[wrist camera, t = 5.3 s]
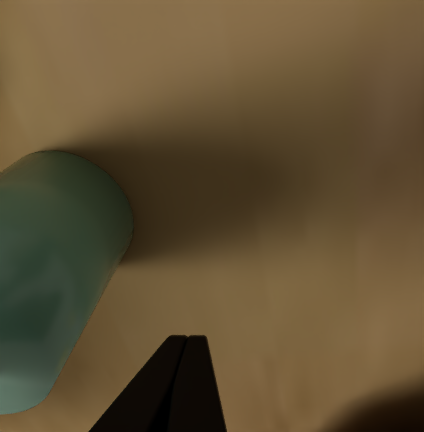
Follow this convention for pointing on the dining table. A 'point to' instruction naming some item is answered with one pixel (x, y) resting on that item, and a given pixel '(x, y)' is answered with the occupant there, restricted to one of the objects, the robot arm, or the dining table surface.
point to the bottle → (53, 265)
